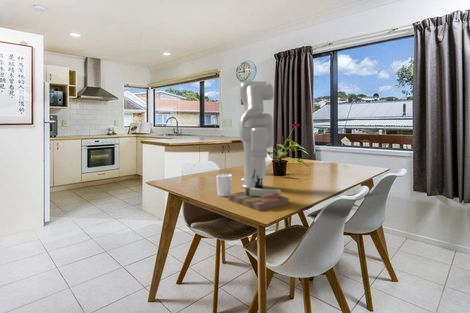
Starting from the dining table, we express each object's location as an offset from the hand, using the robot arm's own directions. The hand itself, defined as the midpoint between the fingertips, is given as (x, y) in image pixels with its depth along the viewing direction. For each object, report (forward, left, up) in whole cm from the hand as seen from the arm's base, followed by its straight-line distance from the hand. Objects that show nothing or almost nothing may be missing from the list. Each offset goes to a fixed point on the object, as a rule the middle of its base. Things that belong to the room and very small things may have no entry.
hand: (258, 192), depth 136 cm
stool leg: (+4, -1, -1) cm, 4 cm away
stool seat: (+3, -3, -4) cm, 5 cm away
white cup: (-17, -8, -4) cm, 20 cm away
